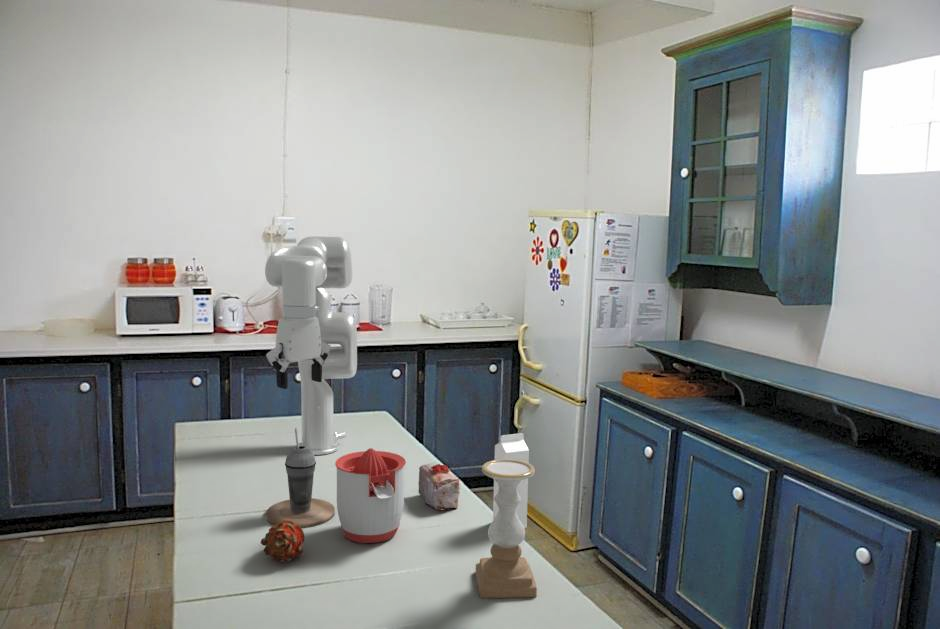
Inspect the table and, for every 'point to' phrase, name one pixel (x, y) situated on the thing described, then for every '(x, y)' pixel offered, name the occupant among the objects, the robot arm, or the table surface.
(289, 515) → the brown round plate
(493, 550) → the candle holder
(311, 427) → the robot arm
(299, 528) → the dragon fruit
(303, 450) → the beverage cup
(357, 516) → the citrus juicer
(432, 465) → the food item
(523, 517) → the milk
